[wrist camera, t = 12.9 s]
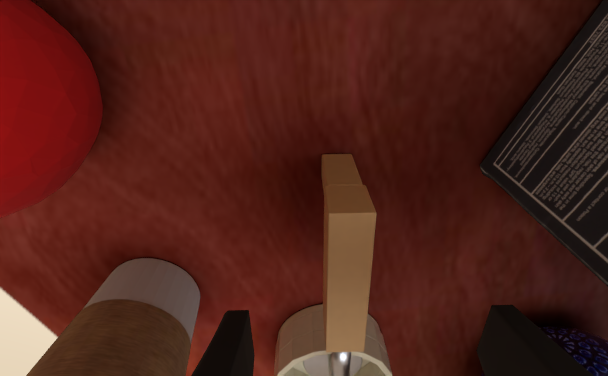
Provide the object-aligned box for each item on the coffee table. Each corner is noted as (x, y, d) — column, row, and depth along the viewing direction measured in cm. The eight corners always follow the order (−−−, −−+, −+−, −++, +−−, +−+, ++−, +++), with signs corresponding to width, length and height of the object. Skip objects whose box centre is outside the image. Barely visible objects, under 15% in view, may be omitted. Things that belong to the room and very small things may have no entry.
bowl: (397, 313, 25) (411, 360, 22) (362, 378, 28) (369, 427, 25) (290, 294, 24) (289, 341, 21) (268, 364, 27) (264, 413, 24)
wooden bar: (357, 363, 26) (373, 459, 21) (303, 365, 26) (304, 460, 21) (374, 152, 19) (406, 212, 13) (298, 154, 19) (298, 214, 13)
